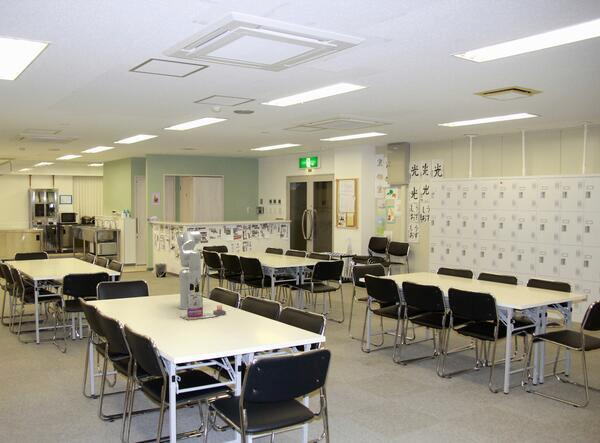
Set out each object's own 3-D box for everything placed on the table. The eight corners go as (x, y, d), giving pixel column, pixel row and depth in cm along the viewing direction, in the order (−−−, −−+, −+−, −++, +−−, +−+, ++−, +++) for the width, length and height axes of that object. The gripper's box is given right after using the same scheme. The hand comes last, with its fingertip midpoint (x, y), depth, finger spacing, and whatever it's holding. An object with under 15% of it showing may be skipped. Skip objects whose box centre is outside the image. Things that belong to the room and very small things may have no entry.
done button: (216, 312, 419) (215, 305, 419) (220, 311, 421) (220, 304, 421) (218, 312, 416) (218, 306, 416) (223, 312, 418) (223, 305, 418)
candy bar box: (201, 315, 413) (201, 293, 412) (203, 316, 408) (202, 294, 408) (186, 316, 408) (186, 294, 408) (187, 317, 404) (187, 295, 403)
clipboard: (179, 317, 409) (179, 316, 409) (210, 313, 423) (209, 312, 423) (187, 320, 397) (187, 319, 397) (218, 317, 410) (218, 315, 410)
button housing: (213, 314, 420) (213, 310, 420) (221, 313, 424) (221, 309, 424) (217, 316, 414) (217, 312, 414) (225, 315, 418) (225, 311, 418)
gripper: (185, 267, 412) (185, 289, 413) (194, 269, 398) (194, 293, 399) (194, 266, 416) (194, 289, 417) (203, 269, 402) (203, 292, 403)
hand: (194, 291), depth 408 cm, fingers open, 9 cm apart
